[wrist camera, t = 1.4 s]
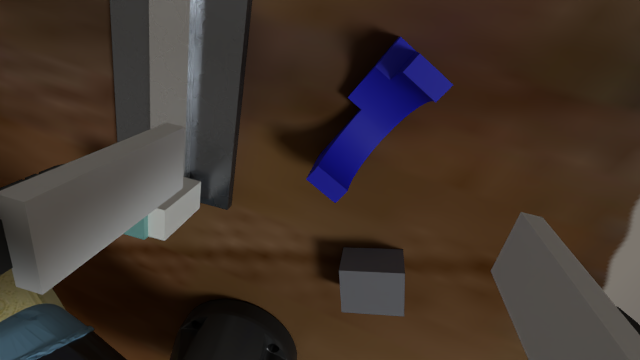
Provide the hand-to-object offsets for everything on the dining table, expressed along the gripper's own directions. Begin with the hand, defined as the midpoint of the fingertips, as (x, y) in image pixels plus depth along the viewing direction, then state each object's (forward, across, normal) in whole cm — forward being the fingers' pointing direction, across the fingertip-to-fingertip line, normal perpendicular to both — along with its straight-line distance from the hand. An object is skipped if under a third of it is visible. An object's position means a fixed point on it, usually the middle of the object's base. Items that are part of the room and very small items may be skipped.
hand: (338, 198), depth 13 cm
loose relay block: (+18, -5, +16) cm, 25 cm away
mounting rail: (+18, +17, 0) cm, 25 cm away
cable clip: (+18, 0, 0) cm, 18 cm away
